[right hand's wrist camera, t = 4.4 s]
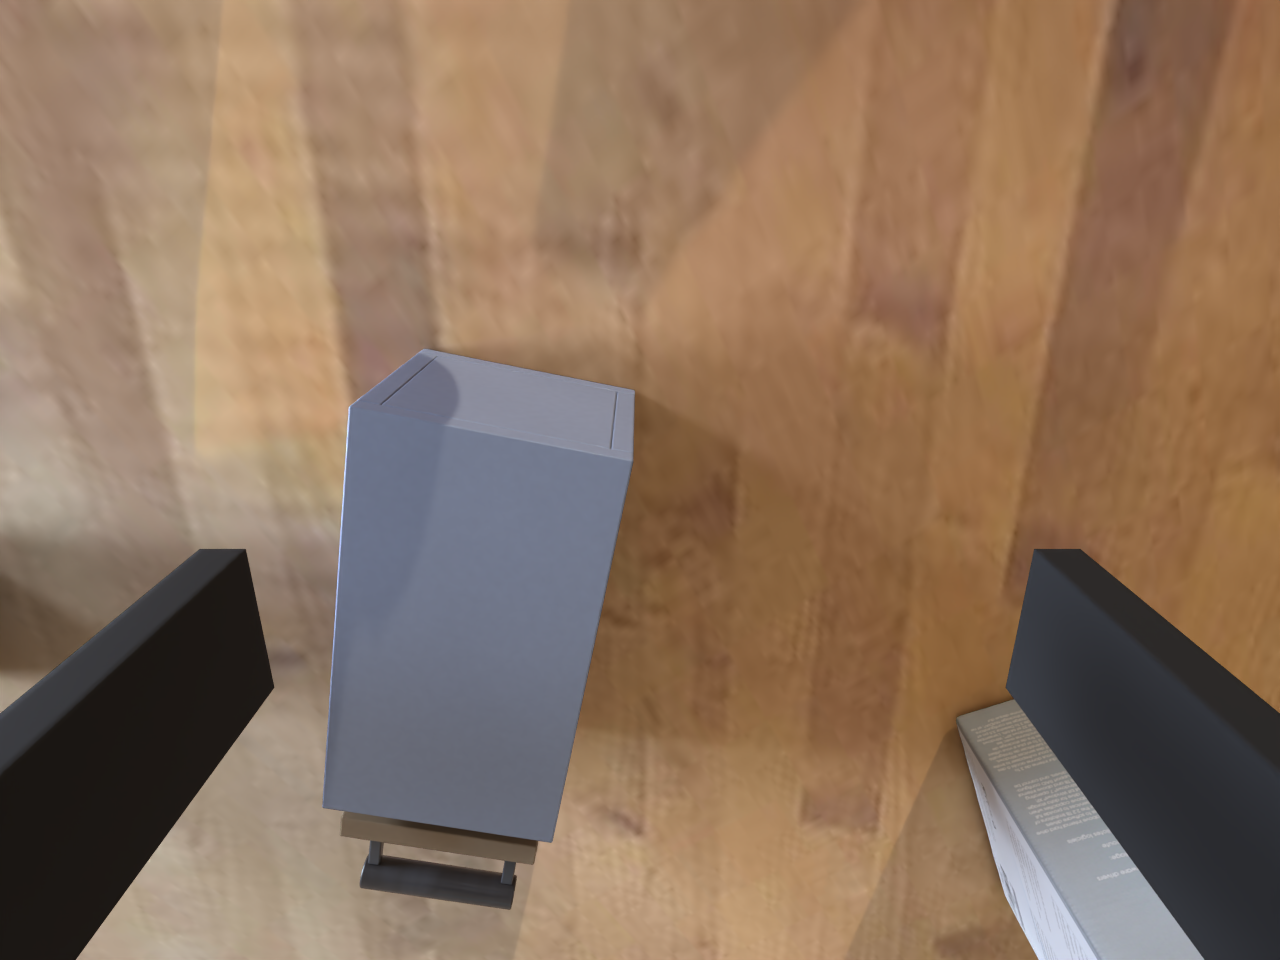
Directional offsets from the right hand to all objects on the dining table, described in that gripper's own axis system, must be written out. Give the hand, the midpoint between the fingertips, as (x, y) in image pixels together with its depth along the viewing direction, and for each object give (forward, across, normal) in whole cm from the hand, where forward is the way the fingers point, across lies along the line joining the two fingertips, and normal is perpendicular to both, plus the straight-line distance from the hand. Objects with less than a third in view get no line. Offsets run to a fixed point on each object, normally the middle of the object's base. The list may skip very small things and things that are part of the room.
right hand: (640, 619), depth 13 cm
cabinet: (+26, -7, -11) cm, 29 cm away
